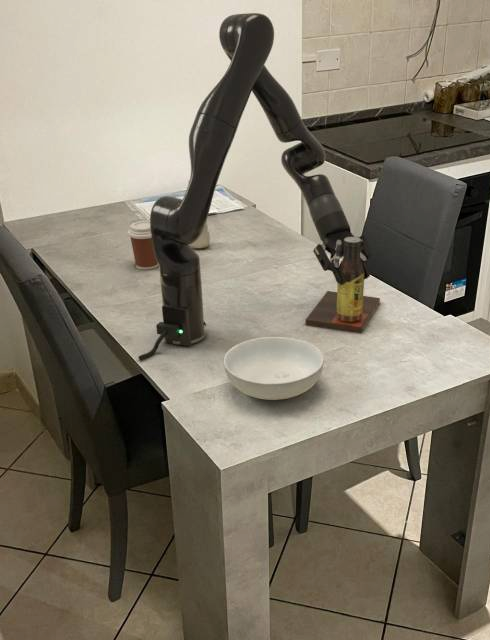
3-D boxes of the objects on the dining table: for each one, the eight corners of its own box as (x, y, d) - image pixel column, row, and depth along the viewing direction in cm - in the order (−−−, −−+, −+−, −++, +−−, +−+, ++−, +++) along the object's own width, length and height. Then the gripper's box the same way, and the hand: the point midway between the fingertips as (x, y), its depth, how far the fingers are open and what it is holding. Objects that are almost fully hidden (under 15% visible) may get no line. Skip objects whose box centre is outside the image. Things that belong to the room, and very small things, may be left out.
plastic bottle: (213, 248, 239) (209, 182, 229) (191, 252, 237) (186, 185, 227) (207, 241, 245) (203, 176, 234) (185, 244, 242) (180, 179, 232)
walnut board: (361, 333, 191) (361, 327, 190) (305, 325, 195) (305, 319, 194) (379, 303, 205) (380, 297, 204) (327, 296, 209) (327, 290, 208)
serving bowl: (340, 377, 173) (341, 349, 169) (291, 423, 157) (291, 393, 154) (259, 354, 182) (258, 327, 178) (205, 396, 166) (203, 367, 163)
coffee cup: (125, 269, 226) (120, 228, 220) (140, 257, 234) (136, 218, 228) (154, 273, 224) (150, 231, 218) (168, 261, 231) (165, 221, 225)
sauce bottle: (357, 325, 191) (361, 246, 180) (332, 321, 193) (334, 243, 182) (365, 314, 196) (369, 236, 186) (341, 310, 198) (343, 233, 188)
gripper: (309, 215, 184) (336, 280, 181) (360, 204, 190) (387, 267, 188) (297, 230, 191) (323, 293, 188) (347, 220, 197) (373, 280, 194)
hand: (355, 280), depth 188 cm, fingers closed on sauce bottle, 6 cm apart
